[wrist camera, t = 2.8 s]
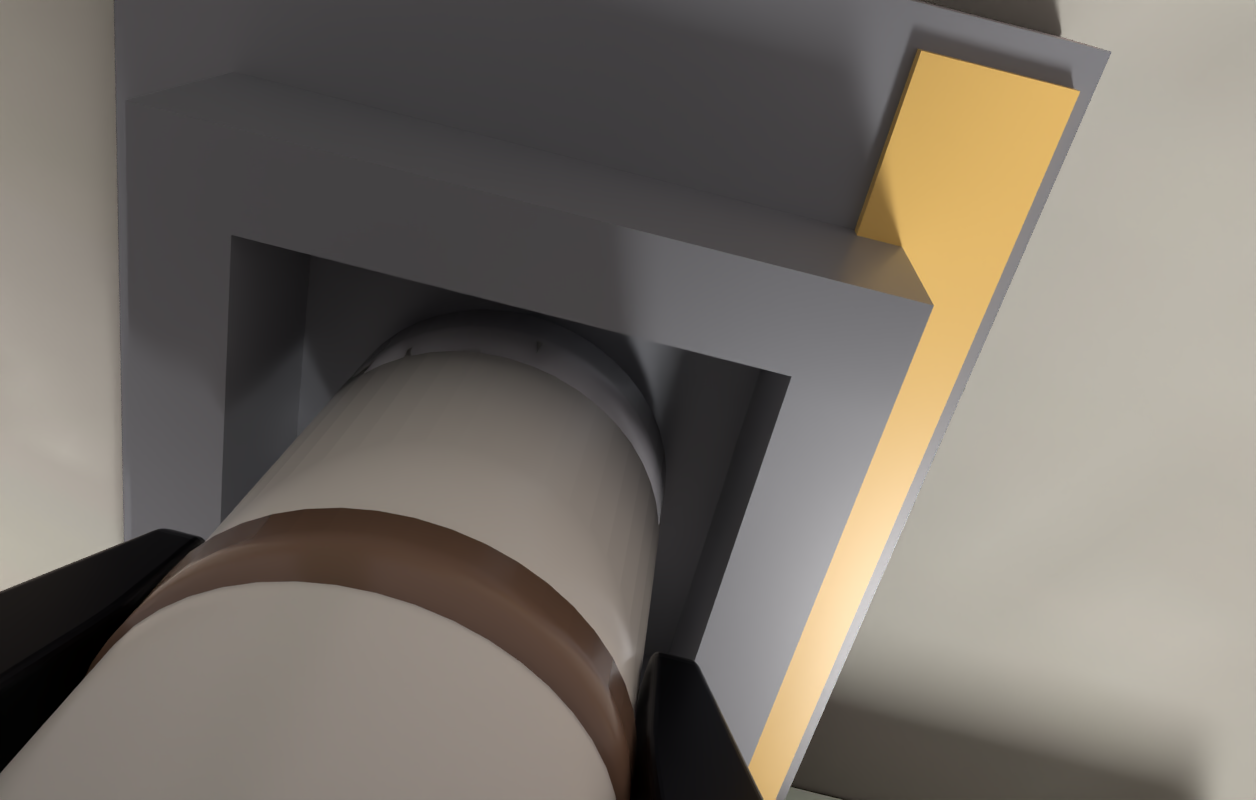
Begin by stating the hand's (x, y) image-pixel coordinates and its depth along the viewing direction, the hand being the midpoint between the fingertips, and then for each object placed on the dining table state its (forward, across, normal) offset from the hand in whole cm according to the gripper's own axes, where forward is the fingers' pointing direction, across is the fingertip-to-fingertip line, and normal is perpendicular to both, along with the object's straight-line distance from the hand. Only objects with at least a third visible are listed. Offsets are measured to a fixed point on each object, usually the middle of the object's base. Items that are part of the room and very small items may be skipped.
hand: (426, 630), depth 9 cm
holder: (+5, 0, 0) cm, 5 cm away
